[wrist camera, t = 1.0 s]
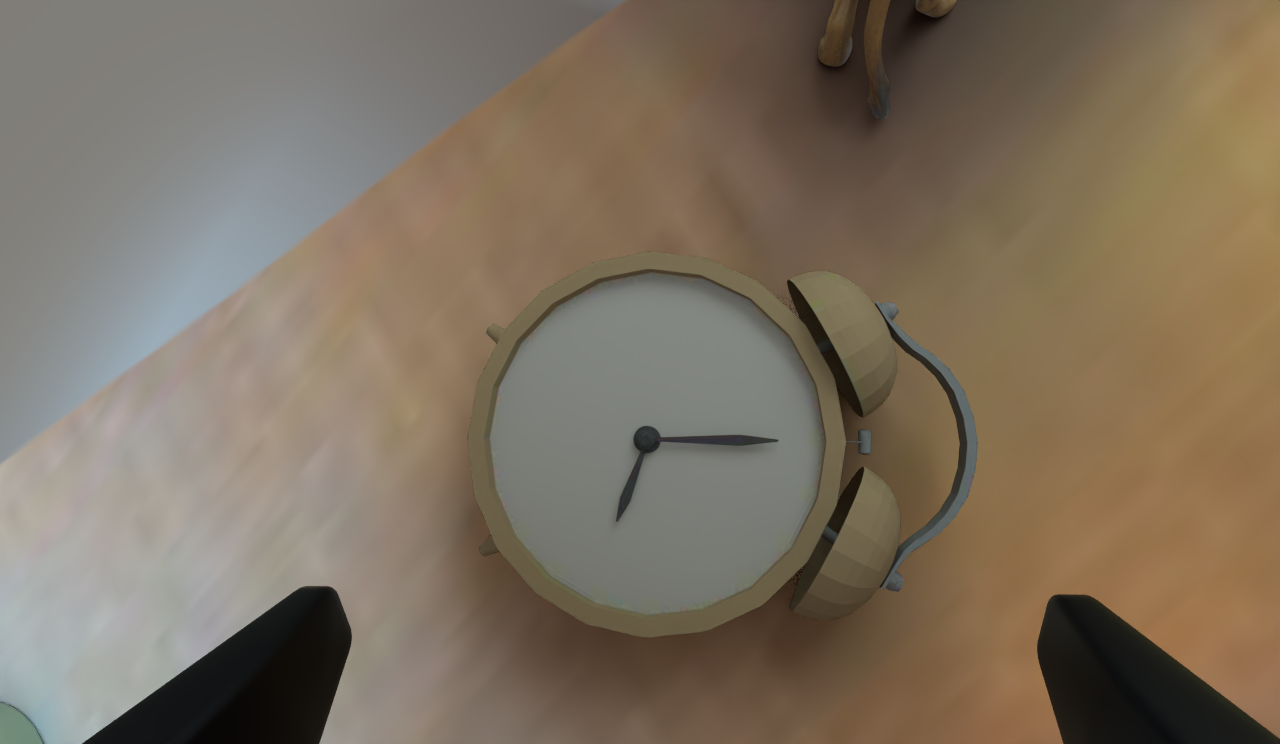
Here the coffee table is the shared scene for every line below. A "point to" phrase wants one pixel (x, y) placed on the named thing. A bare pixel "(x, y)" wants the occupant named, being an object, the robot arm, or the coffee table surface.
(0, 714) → the capped bottle
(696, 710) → the coffee table surface
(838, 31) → the lion figurine
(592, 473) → the alarm clock
